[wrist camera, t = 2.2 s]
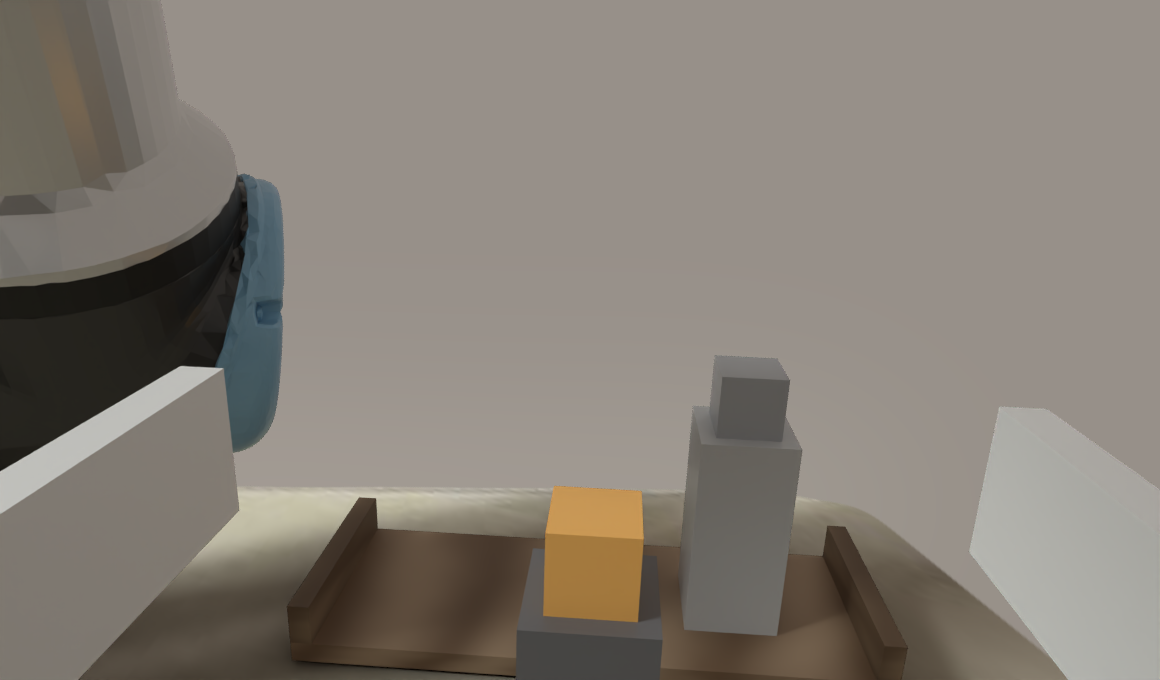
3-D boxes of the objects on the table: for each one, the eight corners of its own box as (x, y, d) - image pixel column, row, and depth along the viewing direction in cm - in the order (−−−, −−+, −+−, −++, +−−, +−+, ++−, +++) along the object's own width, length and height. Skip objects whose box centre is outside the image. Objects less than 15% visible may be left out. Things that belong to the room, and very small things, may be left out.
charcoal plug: (513, 870, 27) (517, 545, 23) (528, 763, 31) (534, 474, 27) (642, 880, 26) (670, 554, 22) (639, 771, 31) (662, 481, 27)
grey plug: (684, 630, 37) (707, 381, 33) (678, 575, 42) (697, 349, 38) (776, 635, 37) (810, 387, 33) (761, 580, 41) (789, 354, 38)
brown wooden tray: (291, 660, 36) (287, 606, 35) (361, 542, 45) (359, 497, 44) (896, 702, 35) (907, 647, 34) (838, 572, 44) (845, 526, 43)
